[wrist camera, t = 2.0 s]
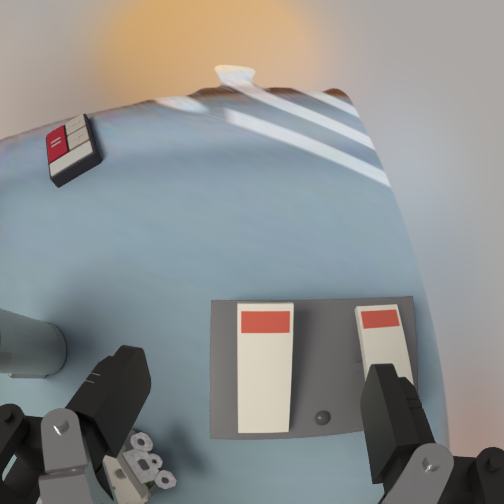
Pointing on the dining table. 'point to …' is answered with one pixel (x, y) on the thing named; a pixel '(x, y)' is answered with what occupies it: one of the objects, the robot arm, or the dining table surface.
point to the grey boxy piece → (136, 471)
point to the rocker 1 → (264, 366)
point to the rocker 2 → (382, 338)
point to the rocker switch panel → (304, 366)
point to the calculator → (71, 150)
